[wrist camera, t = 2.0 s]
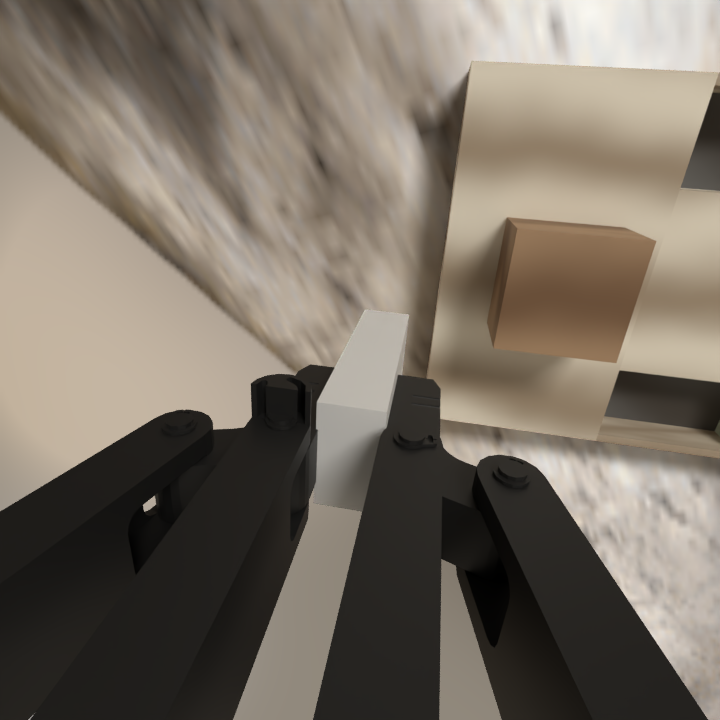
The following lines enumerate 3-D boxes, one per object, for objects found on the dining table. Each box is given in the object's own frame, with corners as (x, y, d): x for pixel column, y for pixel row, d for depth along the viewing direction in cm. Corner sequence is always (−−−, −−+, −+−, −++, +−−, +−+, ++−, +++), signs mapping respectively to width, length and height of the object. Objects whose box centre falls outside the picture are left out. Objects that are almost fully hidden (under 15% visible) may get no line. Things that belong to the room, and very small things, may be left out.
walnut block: (506, 216, 25) (517, 228, 21) (625, 227, 24) (656, 241, 21) (486, 322, 27) (493, 348, 24) (593, 334, 27) (616, 363, 23)
